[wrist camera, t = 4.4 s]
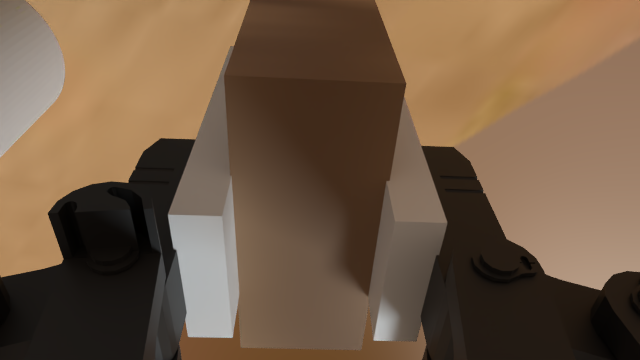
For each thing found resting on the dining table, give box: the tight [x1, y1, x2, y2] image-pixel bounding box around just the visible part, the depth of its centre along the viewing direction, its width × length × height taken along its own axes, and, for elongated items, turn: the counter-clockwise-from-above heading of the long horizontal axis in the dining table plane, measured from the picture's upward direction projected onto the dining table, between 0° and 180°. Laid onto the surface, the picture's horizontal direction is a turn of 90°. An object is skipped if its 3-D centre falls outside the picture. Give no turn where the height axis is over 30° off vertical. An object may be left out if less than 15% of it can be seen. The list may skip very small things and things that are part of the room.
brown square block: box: [224, 0, 406, 350], centre depth 11 cm, size 2×6×6 cm, turn 177°
